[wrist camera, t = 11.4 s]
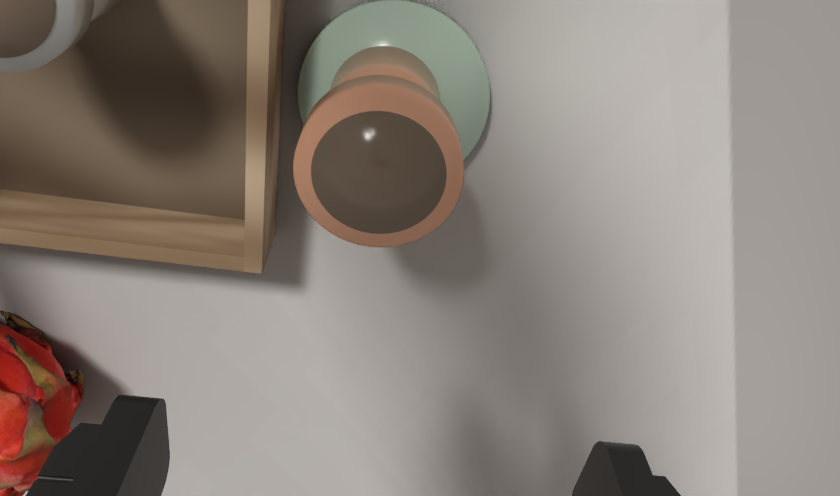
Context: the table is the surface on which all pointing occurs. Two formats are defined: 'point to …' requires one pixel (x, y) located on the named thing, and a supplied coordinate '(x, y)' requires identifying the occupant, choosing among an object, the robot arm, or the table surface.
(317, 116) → the terracotta pot
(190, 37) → the box
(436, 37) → the saucer
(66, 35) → the grey pot
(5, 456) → the dragon fruit
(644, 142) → the table surface
